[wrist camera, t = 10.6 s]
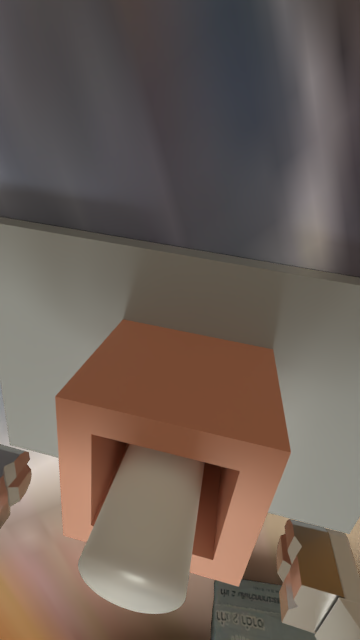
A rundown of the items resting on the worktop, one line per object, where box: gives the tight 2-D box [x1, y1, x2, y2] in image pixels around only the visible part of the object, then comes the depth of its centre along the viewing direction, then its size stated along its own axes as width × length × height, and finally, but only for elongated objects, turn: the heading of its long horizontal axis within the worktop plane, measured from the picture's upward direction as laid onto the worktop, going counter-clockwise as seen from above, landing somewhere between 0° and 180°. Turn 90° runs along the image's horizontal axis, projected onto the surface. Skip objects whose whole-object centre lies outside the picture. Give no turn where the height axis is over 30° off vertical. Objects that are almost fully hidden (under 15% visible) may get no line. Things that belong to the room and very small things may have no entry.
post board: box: [0, 217, 360, 614], centre depth 11 cm, size 18×12×8 cm, turn 83°
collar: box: [55, 319, 291, 587], centre depth 11 cm, size 6×6×5 cm
